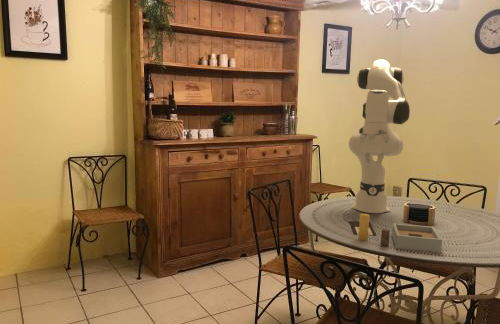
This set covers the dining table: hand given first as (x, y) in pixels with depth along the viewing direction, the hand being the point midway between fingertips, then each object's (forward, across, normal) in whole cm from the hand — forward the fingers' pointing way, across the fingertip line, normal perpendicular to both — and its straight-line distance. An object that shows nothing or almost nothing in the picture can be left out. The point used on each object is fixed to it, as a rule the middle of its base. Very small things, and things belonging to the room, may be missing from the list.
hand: (372, 164), depth 168 cm
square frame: (+30, -8, -16) cm, 35 cm away
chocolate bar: (+30, +12, -3) cm, 32 cm away
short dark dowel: (+31, -9, -3) cm, 32 cm away
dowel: (+30, -1, +3) cm, 30 cm away
